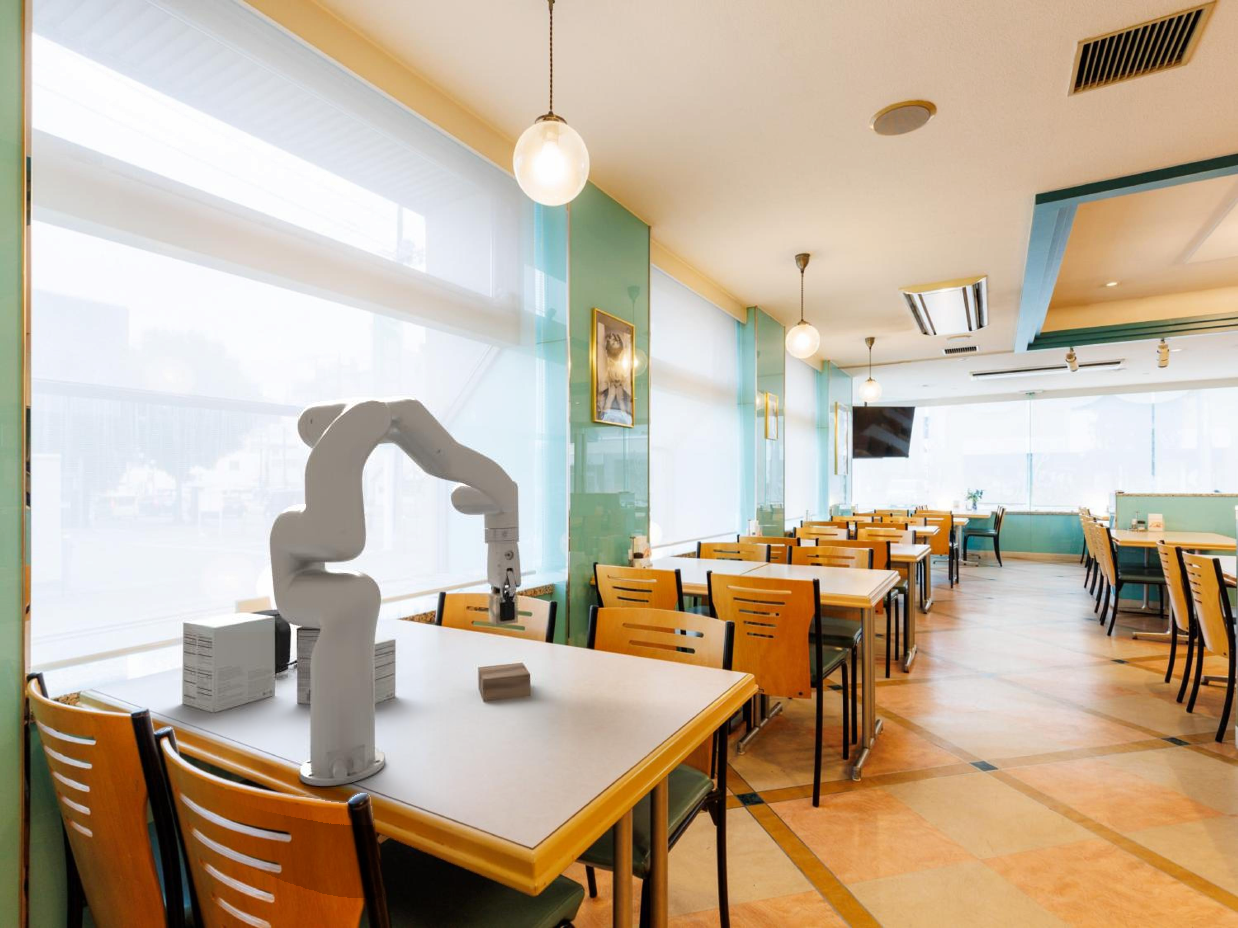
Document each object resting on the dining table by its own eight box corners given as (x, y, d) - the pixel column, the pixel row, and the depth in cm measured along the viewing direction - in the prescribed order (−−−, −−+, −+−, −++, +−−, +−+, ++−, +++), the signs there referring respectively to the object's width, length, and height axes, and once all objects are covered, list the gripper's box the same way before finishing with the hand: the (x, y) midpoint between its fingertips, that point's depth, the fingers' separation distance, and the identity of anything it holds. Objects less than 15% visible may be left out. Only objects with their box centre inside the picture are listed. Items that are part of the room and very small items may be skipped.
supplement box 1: (243, 687, 150) (243, 611, 150) (276, 695, 143) (276, 615, 144) (180, 703, 138) (181, 621, 139) (213, 713, 132) (213, 627, 132)
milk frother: (237, 674, 161) (238, 614, 162) (288, 658, 176) (288, 603, 177) (282, 677, 157) (282, 616, 158) (330, 661, 172) (330, 605, 173)
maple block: (517, 622, 141) (517, 595, 141) (495, 625, 139) (495, 597, 139) (510, 618, 146) (510, 592, 146) (488, 621, 143) (488, 594, 143)
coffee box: (323, 690, 146) (323, 618, 146) (349, 691, 144) (348, 619, 145) (295, 703, 137) (295, 627, 137) (322, 705, 135) (322, 628, 136)
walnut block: (530, 697, 138) (530, 673, 138) (483, 703, 135) (483, 679, 135) (522, 684, 148) (522, 662, 148) (478, 689, 145) (478, 667, 145)
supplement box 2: (345, 702, 137) (344, 642, 138) (373, 692, 144) (372, 634, 144) (369, 706, 134) (369, 645, 134) (397, 696, 140) (396, 637, 141)
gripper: (531, 536, 137) (533, 622, 137) (505, 533, 152) (506, 610, 152) (497, 538, 134) (498, 627, 133) (474, 534, 149) (475, 614, 148)
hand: (503, 617), depth 142 cm, fingers closed on maple block, 5 cm apart
